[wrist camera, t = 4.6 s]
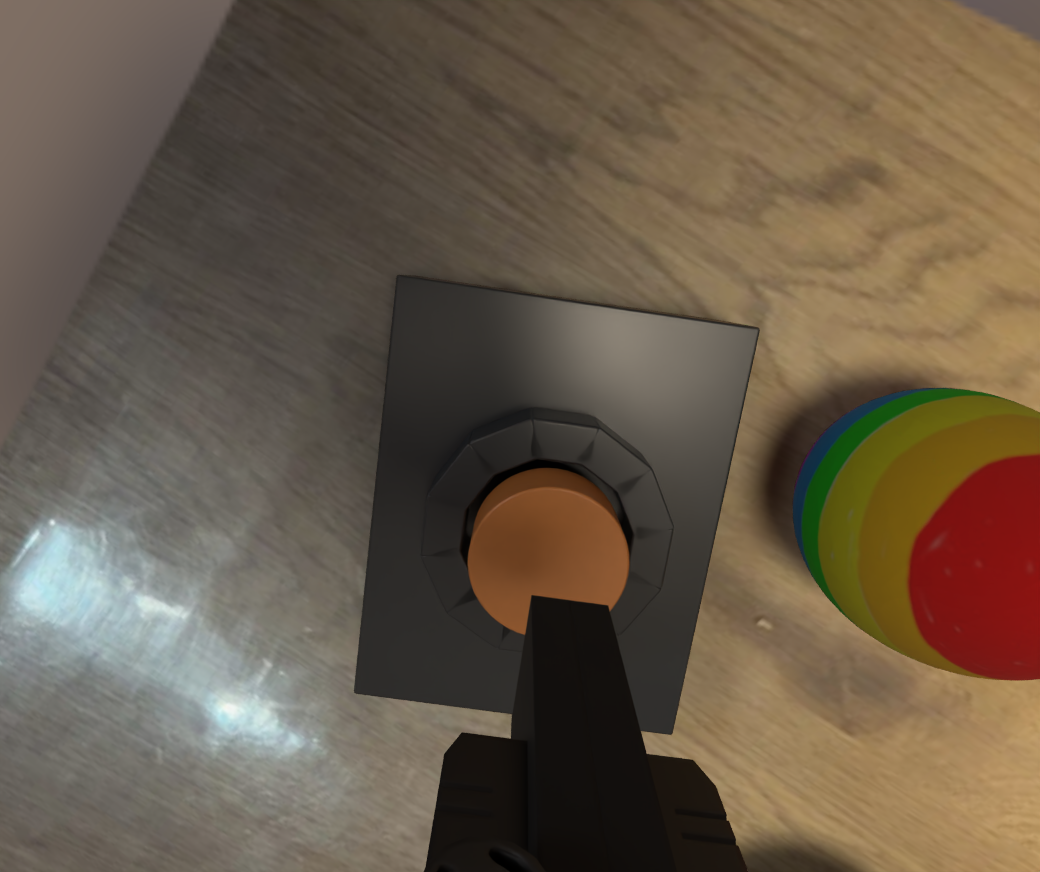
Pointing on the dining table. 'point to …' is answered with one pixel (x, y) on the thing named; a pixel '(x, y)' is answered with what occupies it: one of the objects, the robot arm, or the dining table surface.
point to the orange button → (545, 545)
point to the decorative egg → (931, 527)
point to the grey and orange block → (543, 444)
